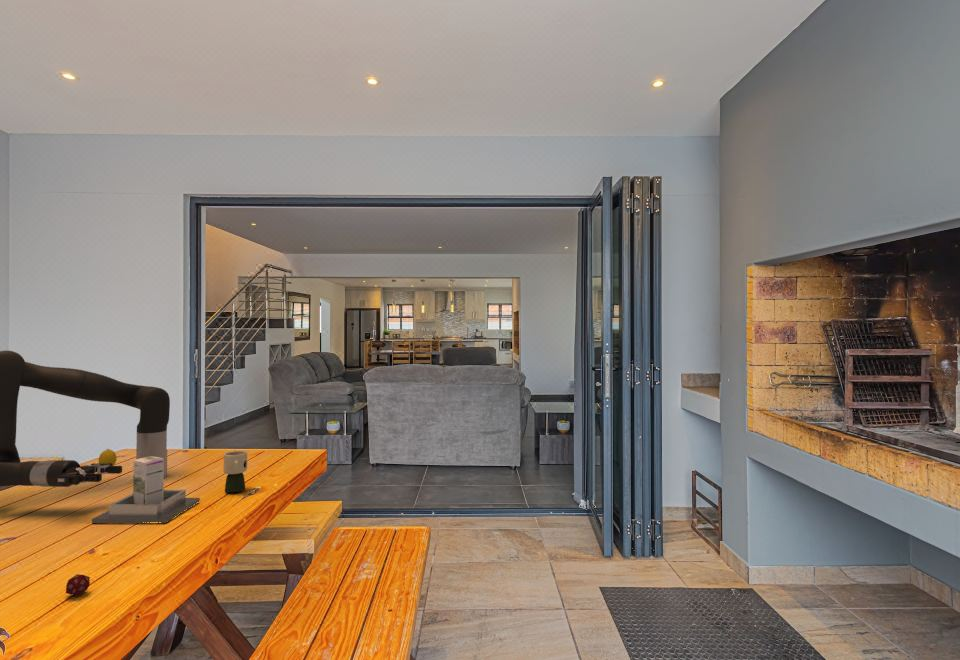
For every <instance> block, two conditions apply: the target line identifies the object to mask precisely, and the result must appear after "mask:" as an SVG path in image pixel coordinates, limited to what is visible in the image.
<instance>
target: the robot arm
mask: <svg viewBox="0 0 960 660" xmlns="http://www.w3.org/2000/svg"><path fill="white" fill-rule="evenodd" d="M20 387H26V388H33V389H37V390H42V391H45V392H48V393H49V392H50V393H52V394H53V393H54V394H57V395H61V396H65V397H70V398H73V399H74V398H75V399H79V400H84V401H85V400H86V401H91V402H101V403H118V404H121V405H125V406H128V407H131V408H135V409H138V410H140V412H139V413H140V414H139V422H138V423H137V425H136V445H135V446H136V454H135V456H136V457H135V458H136V459H135V460H137V459H140V458H144V457H150V456H153V457H159V458H163V459H164V479H165V478H166V477H167V475H168V449H167V444H168V443H167V441H168V439H167V438H168V437H167V435H168V430H167V429H168V425H169V421H170V409H171V408H170V405H171V404H170V403H171V399H170V395H169V393H168V392H167V391H166V390H165V389H163V388H161V387H156V386H148V385H147V386H146V385H139V384H133V383H127V382H123V381H120V380H117V379H115V378H112V377H109V376H106V375H103V374H99V373H97V372H91V371H88V370H83V369H77V368H71V367H70V368H69V367H68V368H67V367H54V366H45V365H40V364H35V363H32V362H28V361H25V359H24V357H23V356H22V355H21V354H20V353H18V352H16V351H13V350H0V487H11V486H23V487H25V486H26V487H29V486H31V487H45V488H46V487H47V488H48V487H50V488H52V487H53V488H69V487H71V486H78V485H80V484H86V483H94V482H95V483H99V482H101V481H102V480H103V479H102V478H103V475H108V474H111V475H112V474H113V475H115V474H116V475H118V474H122V472H123V466H122V465H114V466H112V463H99V462H98V463H96V462H95V463H94V462H93V463H91V464H89V465H88V464H86V465H85V464H84V465H80V464H79V462H78V461H76V460H73V459H72V460H69V459H67V460H63V459H62V460H61V459H60V460H59V459H58V460H57V459H56V460H55V459H54V460H53V459H51V460H29V461H21V459H20V455H19V451H18V448H17V446H16V445H17V444H16V442H17V421H18V420H17V417H18V399H19V394H20V393H19V392H20Z"/></svg>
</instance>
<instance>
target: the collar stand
mask: <svg viewBox="0 0 960 660" xmlns="http://www.w3.org/2000/svg"><path fill="white" fill-rule="evenodd" d="M163 493H164V494H163V502H161V503H159V504H133V493H131V494H129V495H126V496H125V497H123V498H120V499H118V500H116V501H114V502H112V503H110V504H109V506H108V507H109V509H108V510H106V511H105V512H103V513H101V514H98V515H97V516H94V517H92V518H91V524H92V523H143V522H144V523H145V522H146V523H147V522H149V523H150V522H158V523H159V522H161V523H166V522H167V521H169V520H171V519H172V518H174V517H175V516H177V515H178V514H179V513H181V512H183V511H184V510H186V509H188V508H189V507H191V506H193V505H194V504H196V503H197V502H199V501H200V502H201V500H200V499H201V498H200V497H186V489H164V492H163ZM193 507H194V506H193ZM177 517H178V516H177ZM174 519H175V518H174ZM171 521H172V520H171ZM169 522H170V521H169ZM166 524H167V523H166Z"/></svg>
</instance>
